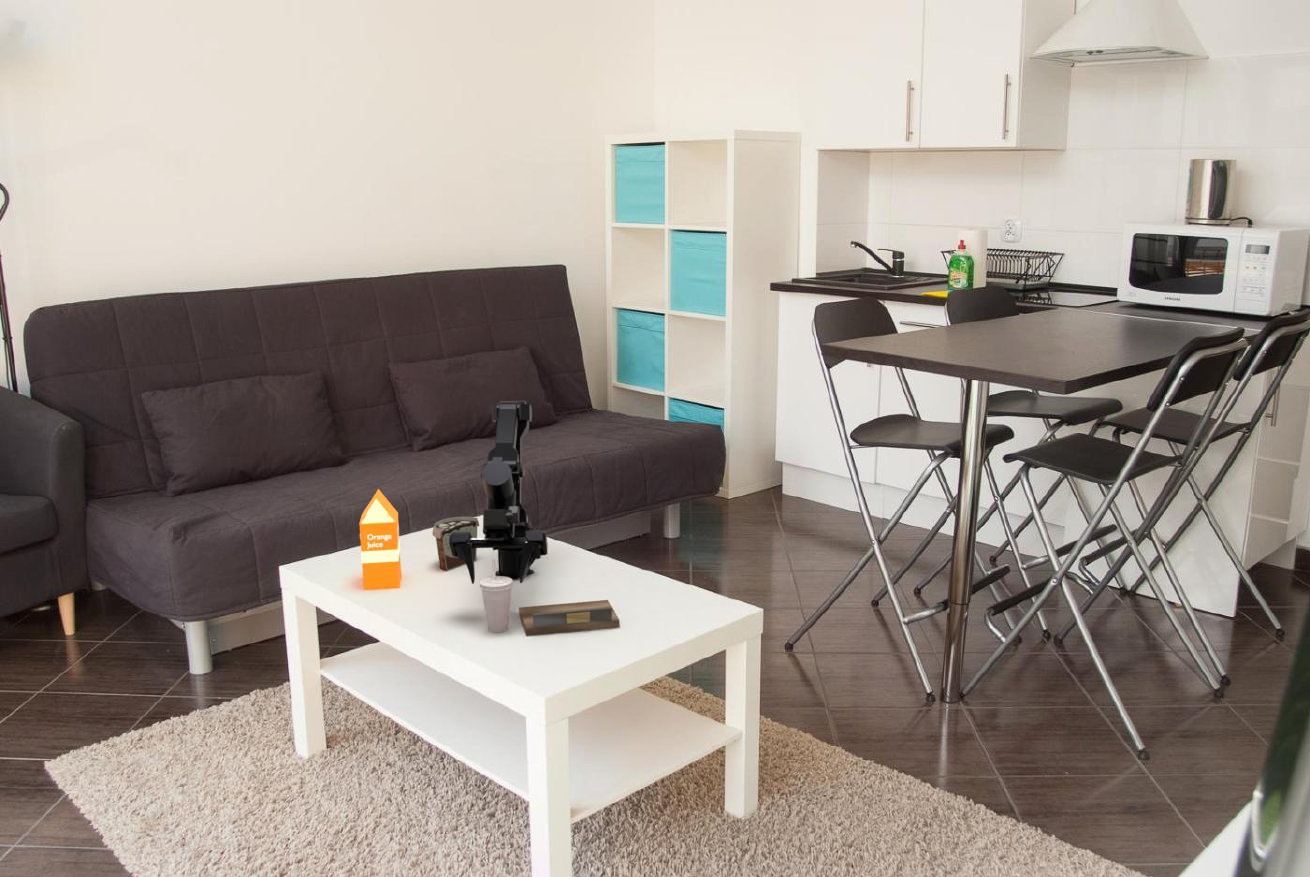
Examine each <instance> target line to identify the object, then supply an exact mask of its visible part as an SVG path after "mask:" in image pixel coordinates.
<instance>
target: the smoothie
mask: <svg viewBox="0 0 1310 877" xmlns="http://www.w3.org/2000/svg"><path fill="white" fill-rule="evenodd" d="M491 565H492V576H487V577H484V578H482V579H480V580H479V588H480V589H481V593H482V595H481V596H482V600H483V607H484V612H485V618H486V625H487V630H488V631H489V632H491V633H503V632H506V631H507V630H508V628H509V614H510V606H511V596H512V595H511V594H512V588H513V586H514V583H513V582H514V581H513V579H511V578H509V577H505V576H496V572H497V571H496V558H495V557H494V558H493V557H492V559H491Z"/></svg>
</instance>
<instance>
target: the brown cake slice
mask: <svg viewBox="0 0 1310 877" xmlns="http://www.w3.org/2000/svg"><path fill="white" fill-rule="evenodd" d="M478 527H480V523H479V520H478V517H474V516H456V517H449V518H444V519H441V520H438V521H436V522H435V523H434V526H433V527H432V528H433V529H432V533H431V534H432V536H433V537H434V538H435V542H436V548H437V557H438V562H439V568H440V570H441V571H443V572H450V571H453V570H455V569H458V568H461V567H464V566H466V564H465V561H464V560H459V558H458V557H455V556H452V552H451V548H450V545H449V538H450V535H451V534H452V532H467V531H470V532H471V536H472V538H478ZM477 549H478V548H473V556H474V563H475V562H477Z"/></svg>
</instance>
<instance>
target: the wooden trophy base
mask: <svg viewBox="0 0 1310 877" xmlns="http://www.w3.org/2000/svg"><path fill="white" fill-rule="evenodd" d="M518 615H519V619H520V621H521V625H522V627H523V630H524V633H525V636H526V637H529V636H542V635H543V636H544V635H551V634H552V635H553V634H562V633H573V632H583V631H595V630H605V629H606V630H607V629H618V627H619V628H620V618H619V617H618V615H617V613H616V610H614V608H613V606H612V605H611V603H610V601H609V599H603V600H593V601H592V600H590V601H580V602H578V601H577V602H570V603H569V602H568V603H565V602H564V603H556V604H547V605H545V604H544V605H533V606H531V605H530V606H522V607H518Z"/></svg>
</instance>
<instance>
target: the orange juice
mask: <svg viewBox="0 0 1310 877" xmlns="http://www.w3.org/2000/svg"><path fill="white" fill-rule="evenodd" d="M358 524H359V539H360V550H361V551H360V555H361V565H362V566H361V567H362V569H361V570H362V579H363V580H362V582H363V591H372V590H373V591H376V590H387V589H388V590H389V589H392V590H393V589H400V588H401V580H402V565H401V544H400V542H401V541H400V526H399V512H398V511H397V510H396V509H395V507H393V505H392V504H391V502H390V501H389V500H388V499H387V497H386V496H385V495H384V494H383V493H382V492H381V490H380V488H378V489H377V491H376V493H375V494H374V495H373V497H372V498H371V500H370V502H369V503H368V505H367V506H366V508H365V509H364V510H363V512H362V514H361V517H360V521H359V523H358Z"/></svg>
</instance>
